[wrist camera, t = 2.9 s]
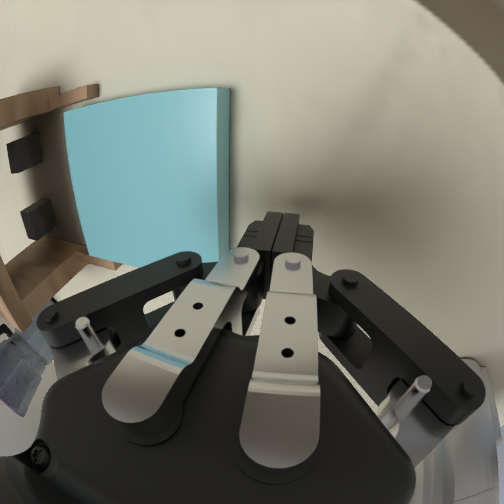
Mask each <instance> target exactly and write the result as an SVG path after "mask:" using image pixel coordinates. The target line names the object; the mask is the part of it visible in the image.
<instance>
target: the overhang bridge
mask: <svg viewBox="0 0 504 504" xmlns="http://www.w3.org/2000/svg"><path fill="white" fill-rule="evenodd" d="M96 97H98V84H94V85H86V86H83V87H80V88H77V89H74V90H71V91H69V92H66V93H63V94H61V95H59V86H58V87H52V88H46V89H41V90H36V91H32V92H27V93H23V94H19V95H15V96H11V97H7V98H4V99H0V131H1V130H3V129H6V128H9V127H11V126H14V125H17V124H20V123H22V122H25V121H27V120H30V119H32V118H35V117H37V116H40V115H42V114H45V113H48V112H50V111H53V110H56V109H59V108H62V107H65V106H68V105H71V104H74V103H78V102H81V101H85V100H88V99H92V98H96ZM7 151H8V158H9V164H10V169H11V174H13V173H20V172H22V171H24V170H26V169H28V168H30V167H32V166H34V165H37V164H39V163H41V162H43V160H42V154H41V147H40V139H39V132H38V133H35V134H31V135H28V136H26V137H23V138H20V139H18V140H15V141H13V142H10V143H8V144H7ZM20 213H21V216H22V220H23V223H24V226H25V229H26V232H27V236H28V238H29V239H32V240H36V241H35V242H33V243H32V244H31V245H29V246H28V247H27V248H26V249H24V250H23V251H22V252H20V253H19V254H18V255H17V256H16V257H14V258H13V259H12V260H11V261H9V262H8V263H7V264H6V265H4V263H3V261H2V258H1V256H0V315H1V316H2V317H3V318H5V319H6V320H7V321H8V322H9V323H11V324H12V325H13V326H14V327H15V328H17V329H18V330H19V331H20V332H22V333H24V332H25V330H26V329H27V328H28V327H29V326H30V325H31V324H32V323H33V321H32V318H33V317H34V316H35V315H36V314H37V312H38V311H39V310H40V309H41V308H42V307H43V306H44V305H45V304H46V303H47V302H48V301H49V300H50V299H51V298H52V297H53V296H54V295H55V294H56V293H57V292H58V291H59V290H60V289H61V288H62V287H63V286H64V285H65V284H67V283H68V282H69V281H70V280H71V279H72V278H73V277H74V276H75V275H76V274H77V273H78V272H79V271H80V270H82V269H83V268H84V267H85V266H86V265H87V264H88V263H89V264H93V265H97V266H100V267H104V268H108V269H111V270H115V271H116V270H117V269H118V268H119V267H120V266H121V265H122V263H118V262H114V261H109V260H105V259H102V258H98V257H94V256H90V255H89V252H88V249H87V246H85V245H80V244H76V243H72V242H67V241H63V240H59V239H55V238H51V237H46V236H45V235H46V234H47V233H49V232H50V231H51V230H53V229H54V228H56V227H57V224H56V221H55V217H54V213H53V209H52V205H51V201H50V200H45V199H40V200H39V201H37V202H35V203H34V204H32V205H30V206H29V207H27V208H25V209H24V210H22V211H21V212H20Z"/></svg>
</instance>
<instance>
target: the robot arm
mask: <svg viewBox="0 0 504 504" xmlns="http://www.w3.org/2000/svg"><path fill="white" fill-rule="evenodd" d="M299 216H300V215H299V214H291V213H284V215H283V213H279V212H267V214H266V216H265V219H264V221H254V222H253V223H251V224H250V225H249V226H248V228H247V229H246V231H245V233H244V236H243V237H242V239H241V241H240V242H239V244H238V246H237V248H233V249H230V250H228V251H227V252H225V253H224V255H223V256H222V257H221V259H220V260H219V261H217V262H207V263H202V258H201V256H200V255H199V254H198V253H196V252H192V251H183V252H178V253H176V254H173V255H170V256H168V257H165V258H163V259H160V260H158V261H155V262H153V263H150V264H148V265H145V266H143V267H140V268H138V269H136V270H133V271H131V272H128V273H126V274H123V275H121V276H118V277H116V278H114V279H111V280H109V281H106V282H104V283H102V284H99V285H97V286H94V287H92V288H90V289H87V290H85V291H83V292H80V293H78V294H76V295H73V296H71V297H69V298H66V299H64V300H62V301H60V302H57V303H55V304H53V305H50V306H48V307H47V308H45V309H44V310H43V311H42V312H41V313H40V314H39V316H38V318H37V322H36V324H37V327H38V329H39V330H40V332H41V333H42V335H43V337H44V338H45V340H46V341H47V344H48V345H49V347H50V348H51V350H52V355H53V360H54V366H55V371H56V375H57V380H58V381H56V382H55V383H54V384H53V385H52V386H51V387H50V389H49V390H48V392H47V393H46V396H45V398H44V400H43V404H42V411H41V419H40V425H39V429H38V432H37V435H36V438H35V441H34V442H33V444H32V446H31V447H30V448H29V449H27V450H26V451H25V452H22V453H20V454H17V455H14V456H8V457H7V456H3V457H0V504H499V476H498V460H497V449H496V446H498V445H499V444H500V443H501V440H502V436H501V430H500V423H499V418H498V413H497V408H496V404H495V399H494V395H493V391H492V387H491V383H490V380H489V376H488V373H487V370H486V367H480V366H479V364H478V362H476V361H475V360H472V359H460V358H459V357H458V356H457V355H456V354H455V353H454V352H453V351H452V350H451V349H450V348H449V347H447V346H446V345H445V344H444V343H443V342H442V341H441V340H440V339H439V338H437V337H436V336H435V335H434V334H433V333H432V332H431V331H430V330H428V329H427V328H426V327H425V326H424V325H423V324H422V323H420V322H419V321H418V320H417V319H416V318H415V317H413V316H412V315H411V314H410V313H409V312H408V311H406V310H405V309H404V308H403V307H402V306H401V305H399V304H398V303H397V302H396V301H395V300H393V299H392V298H391V297H390V296H389V295H387V294H386V293H385V292H384V291H382V290H381V289H380V288H379V287H378V286H376V285H375V284H374V283H373V282H371V281H370V280H369V279H368V278H366V277H365V276H364V275H362V274H361V273H359V272H357V271H353V270H339V271H336V272H334V273H333V274H332V276H327V275H325V274H322V273H320V272H319V271H317V270H316V269H315V268H314V267H313V265H312V249H313V235H314V231H313V229H312V228H311V227H310V226H309V225H300V224H299ZM170 291H173V295H174V299H175V301H174V302H172V303H170V304H168V305H165V306H163V307H161V308H159V309H157V310H154V311H152V312H150V313H148V314H144V313H143V307H144V305H145V304H146V303H147V302H148V301H150V300H152V299H154V298H156V297H159V296H161V295H163V294H165V293H168V292H170ZM262 299H266V302H265V308H264V313H263V319H262V325H261V330H260V335H254V336H250V333H251V331H252V329H253V326H254V324H255V321H256V319H257V317H258V314H259V306H260V304H261V301H262ZM357 324H358V325H359V326H360V327H361V328H362V329H363V330H364V331H365V332H366V333H367V334H368V335H369V336H370V338H371V339H370V338H369V337H368V336H367V335H366V334H365V333H364V332H363V331H362V330H361V329H360V328H359V327H358V326H357ZM318 332H319V337H320V339H321V341H322V342H323V343H324V345H325V346H326V347H327V348H328V349H329V350H330V351H331V353H332V354H333V355H334V356H335V357H336V358H337V360H338V361H339V362H340V363H341V364H342V365H343V366H344V368H345V369H346V370H347V371H348V372H349V373H350V375H351V376H352V377H353V378H354V379H355V380H356V381H357V383H358V384H359V385H360V386H361V387H362V388H363V389H364V391H365V392H366V393H367V394H368V395H369V396H370V397H371V399H372V400H373V401H374V402H375V403H376V404H377V405H378V410H377V415H376V414H375V413H374V412H373V410H372V409H371V408H370V407H369V405H368V404H367V403H366V402H365V400H364V399H363V398H362V397H361V395H360V394H359V393H358V392H357V390H356V389H355V388H354V387H353V385H352V384H351V383H350V381H349V380H348V379H347V378H346V376H345V375H344V374H343V373H342V371H341V370H340V369H339V368H338V367H337V365H336V364H335V363H333V362H332V361H331V360H330V359H329V358H327V357H326V356H324V355H323V354H321V353H319V352H318Z"/></svg>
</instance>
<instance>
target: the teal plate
mask: <svg viewBox="0 0 504 504" xmlns="http://www.w3.org/2000/svg"><path fill="white" fill-rule="evenodd" d="M63 113H64V127H65V137H66V146H67V154H68V161H69V168H70V174H71V180H72V186H73V191H74V196H75V201H76V205H77V210H78V214H79V218H80V223H81V227H82V230H83V234H84V238H85V242H86V245H87V249H88V252H89V255H90V256H94V257H98V258H102V259H105V260H109V261H114V262H118V263H122V264H126V265H130V266H134V267H138V268H140V267H143V266H145V265H148V264H150V263H153V262H155V261H158V260H160V259H163V258H165V257H168V256H170V255H173V254H176V253H178V252H183V251H192V252H196V253H198V254H199V255H200V256H201V258H202V263H207V262H217V261H219V260H220V259H221V257H222V256H223V255H224V253H225V252H227V251H228V250H229V116H230V89H226V88H200V89H186V90H175V91H166V92H158V93H150V94H143V95H137V96H131V97H125V98H120V99H115V100H110V101H106V102H101V103H97V104H93V105H89V106H85V107H81V108H77V109H74V110H70V111H67V112H63Z"/></svg>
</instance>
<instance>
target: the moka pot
mask: <svg viewBox="0 0 504 504" xmlns="http://www.w3.org/2000/svg"><path fill="white" fill-rule="evenodd" d="M53 304H55V303H54V302H53V301H52V300H51V299H50V300H49V301H48V302H47V303H46V304H45V305H44V306H43V307H42V308H41V309H40V310H39V311H38V312H37V314H36V315H35V316H34V317H33V318H32V321H33V323H32V324H31V325H30V326H29V327H28V328H27V329H26V330H25V332H24V333H22V332H20V331H19V330H18V329H17V328H15V333H12V331H11V330H10V329H9V328H8V327H7V326H6V325H5V324H2V325H1V326H0V335H1V334H3V333H6V334H7V336H8V337H9V339H8V340H4V341H3V342H1V343H0V404H2V405H3V406H5V407H6V408H8V409H10V410H11V411H13V412H14V413H16V414H18V415H20V416H21V417H24V416H25V414H26V412H27V409H28V407H29V404H30V402H31V400H32V398H33V396H34V394H35V392H36V389H37V387H38V385H39V383H40V381H41V374H42V373H43V371H44V370H45V365H48V364H49V363H51V362H52V360H53V355H52V350H51V348H50V347H49V345H48V344H47V341H46V340H45V338H44V337H43V335H42V333H41V332H40V330H39V329H38V327H37V324H36V322H37V318H38V316H39V314H40V313H41V312H42V311H43V310H44V309H45V308H47V307H48V306H50V305H53Z"/></svg>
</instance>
